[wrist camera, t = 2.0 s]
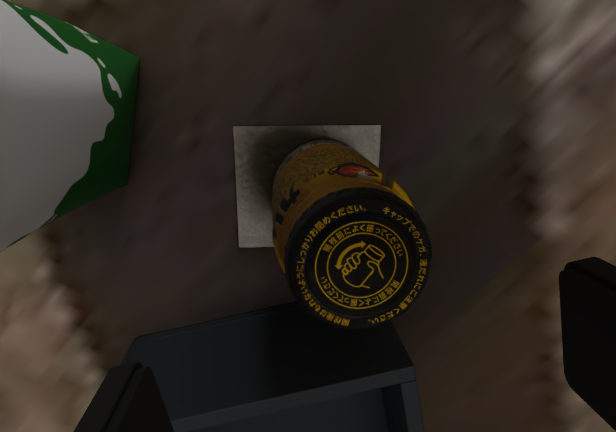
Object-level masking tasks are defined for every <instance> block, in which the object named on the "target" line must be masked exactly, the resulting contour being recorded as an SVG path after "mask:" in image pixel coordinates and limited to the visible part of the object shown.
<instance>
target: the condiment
mask: <svg viewBox="0 0 616 432" xmlns="http://www.w3.org/2000/svg"><path fill="white" fill-rule="evenodd" d="M380 134H381V125H325V126H233V135H234V153H235V173H236V193H237V211H238V212H237V215H238V237H239V247H274V249H275V253H276V257H277V260H278V262H279V264H280V266H281V269H282V270H283V272H284V273H285V276H286V280H287V282H288V285H289V288H290V290H291V292H292V293H293V295H294V297H295V298H296V299H297V301H298V302H299V303H300V304H301V306H302V307H303V308H304V310H305V311H306V312H307V313H308V314H309V315H310V316H312V317H315V318H317V319H319V320H322V321H323V322H326V323H328V324H331V325H333V326H335V327H338V328H347V329H353V328H356V329H362V328H369V327H374V326H380V325H382V324H383V323H385V322H387V321H388V320H390V319H392V318H395V317H397V316H400V315H402V314H403V313H404V312H405V311H407V310H408V308H409V307H410V306H411V305H412V304H413V303H414V302H415V301H416V299H417V297H418V296H419V294H420V293H421V291H422V290H423V288H424V286H425V284H426V281H427V278H428V273H429V270H430V265H431V258H432V251H431V249H432V246H431V242H430V239H429V235H428V234H427V231H426V227H425V225H424V223H423V222H422V220H421V219H420V216H419V214H418V213H417V212H416V211H415V208H414V206H413V204H412V202H411V200H410V199H409V197H408V195H407V193H406V191H405V190H404V189H403V188H402V187H401V186H400V185H399V184H398V182H397V181H396V180H394V179H393V178H392V177H391V176H389V175H388V174H386V173H385V172H384V171H383V170H382V169H380V168H379V153H380Z"/></svg>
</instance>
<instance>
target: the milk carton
mask: <svg viewBox="0 0 616 432" xmlns="http://www.w3.org/2000/svg"><path fill="white" fill-rule="evenodd" d="M139 64H140V58H139V57H137V56H135V55H133V54H131V53H129V52H127V51H125V50H123V49H121V48H119V47H117V46H115V45H112V44H110V43H108V42H106V41H104V40H102V39H100V38H98V37H96V36H94V35H92V34H90V33H88V32H86V31H84V30H82V29H79V28H77V27H75V26H73V25H71V24H69V23H67V22H64V21H62V20H60V19H57V18H54V17H51V16H48V15H46V14H43V13H41V12H38V11H35V10H32V9H29V8H26V7H23V6H20V5H17V4H14V3H11V2H8V1H5V0H0V252H1V251H2V250H4V249H6V248H7V247H9V246H11V245H12V244H14V243H16V242H17V241H19V240H21V239H22V238H24V237H26V236H27V235H29V234H31V233H32V232H34V231H36V230H38V229H39V228H41V227H43V226H44V225H46V224H48V223H49V222H51V221H53V220H54V219H56V218H58V217H59V216H61V215H63V214H65V213H67V212H69V211H71V210H73V209H75V208H77V207H80V206H82V205H84V204H86V203H88V202H90V201H93V200H95V199H97V198H99V197H101V196H103V195H105V194H108V193H110V192H112V191H114V190H116V189H118V188H120V187H123V186H125V185H127V180H128V170H129V161H130V151H131V141H132V132H133V122H134V112H135V103H136V93H137V84H138V74H139Z"/></svg>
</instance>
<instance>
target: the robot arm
mask: <svg viewBox="0 0 616 432" xmlns="http://www.w3.org/2000/svg"><path fill="white" fill-rule="evenodd" d="M559 289H560V307H561V325H562V343H563V362H564V374H565V377H566V380H567V382H568V384H569V385H570V387H571V388H572V389H573V390H574V391H575V392H576V393H577V394H578V395H579V396H580V397H581V398H582V399H583V400H584V401H585V402H586V403H587V404H588V405H589V406H590V407H591V408H592V409H593V410H594V411H595V412H596V413H597V414H599V415H600V416H601V417H602V418H603V419H604V420H605V421H606V422H607V423H608V424H609V425H610V426H611V427H612V428H613V429H614V430H615V431H616V266H614V265H612V264H610V263H608V262H606V261H604V260H602V259H600V258H597V257H591V258H586V259H582V260H577V261H573V262H569V263H567V264H566V266H565V268H564V270H563V271H561V272H560V274H559ZM74 432H174V430H173V427H172V424H171V421H170V418H169V416H168V413H167V410H166V407H165V404H164V401H163V399H162V396H161V393H160V390H159V387H158V384H157V382H156V379H155V376H154V373H153V371H152V369H151V368H150V367H149V366H147V367H143V365H142V364H141V363H140V362H135V363H130V364H126V365H122V366H117V367H113V368H111V369H110V371H109V372H108V374H107V376H106V377H105V379H104V381H103V382H102V384H101V386H100V388H99V389H98V391H97V393H96V394H95V396H94V398H93V400H92V401H91V403H90V405H89V406H88V408H87V410H86V411H85V413H84V415H83V417H82V418H81V420H80V422H79V423H78V425H77V427H76V429H75V430H74Z"/></svg>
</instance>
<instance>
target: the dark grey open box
mask: <svg viewBox="0 0 616 432" xmlns="http://www.w3.org/2000/svg"><path fill="white" fill-rule="evenodd" d="M135 362H140V363H141V364H142V365H143V367H147V366H149V367H150V368H151V369H152V371H153V373H154V376H155V379H156V382H157V384H158V387H159V390H160V393H161V396H162V399H163V401H164V404H165V407H166V410H167V413H168V416H169V418H170V421H171V424H172V427H173V430H174V432H424V425H423V419H422V413H421V406H420V400H419V394H418V387H417V381H416V374H415V368H414V365H413V363H412V361H411V359H410V357H409V355H408V353H407V351H406V349H405V347H404V345H403V343H402V342H401V340H400V338H399V336H398V334H397V332H396V330H395V328H394V326H393V324H392V322H391V320H388V321H387V322H385V323H383V324H382V325H380V326H374V327H369V328H362V329H356V328H353V329H347V328H338V327H335V326H333V325H331V324H328V323H326V322H323V321H322V320H319V319H317V318H315V317H312V316H310V315H309V314H308V313H307V312H306V311H305V310H304V308H303V307H302V306H301V304H300V303H299V302H294V303H289V304H285V305H280V306H276V307H271V308H267V309H262V310H258V311H253V312H249V313H244V314H240V315H235V316H231V317H226V318H222V319H218V320H213V321H209V322H204V323H200V324H195V325H191V326H186V327H182V328H177V329H173V330H168V331H164V332H159V333H155V334H150V335H146V336H141V337H137V338H135V339H134V341H133V343H132V345H131V347H130V349H129V350H128V352H127V354H126V356H125V358H124V360H123V361H122V363H121V365H120V366H122V365H126V364H130V363H135Z"/></svg>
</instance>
